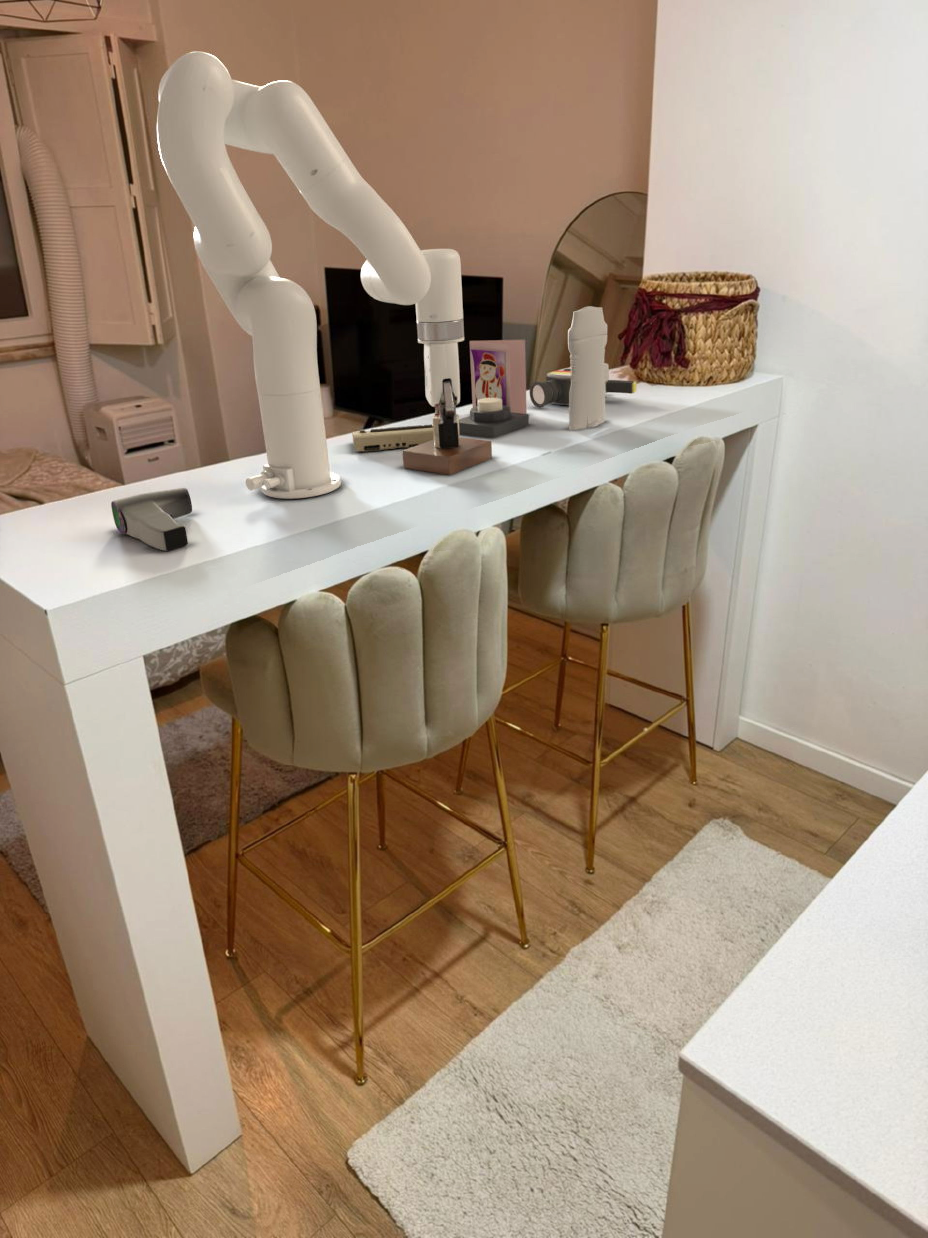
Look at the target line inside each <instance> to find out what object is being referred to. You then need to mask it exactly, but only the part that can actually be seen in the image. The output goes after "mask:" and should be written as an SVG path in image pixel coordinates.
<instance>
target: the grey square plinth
mask: <svg viewBox="0 0 928 1238" xmlns="http://www.w3.org/2000/svg"><path fill="white" fill-rule="evenodd" d="M529 420H530V417H529V414H528V413H527V414H522V413H512V412H510V407H508V406H506V405H502V410H500V411H493V412H482V411H478V406H476V407H473V406H472V407H471V408H470V409H469V415H468V416H465V417H462V418H459V431H460V435H465V436H474V437H480V438H481V437H482V438H491V439H496V438H498V437H500V436H501V437H502V436H504V435H506V434H509V433H512V432H514V431H516V430H520V429H522V428H525V427H527V426H529V425H530V421H529Z"/></svg>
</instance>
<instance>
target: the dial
mask: <svg viewBox="0 0 928 1238" xmlns="http://www.w3.org/2000/svg"><path fill="white" fill-rule="evenodd" d="M456 418H457V423H458V440H459V446H460V437H461V434H460V431H459V419H460V416H459V414H458V413H456ZM438 424H440V420H439V413H435V412H434V415H433V416H432V426H433V432H434V446H435V447H436V448H440V446H439V431H438ZM452 448H455V447H452ZM443 449H447V448H443Z"/></svg>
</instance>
